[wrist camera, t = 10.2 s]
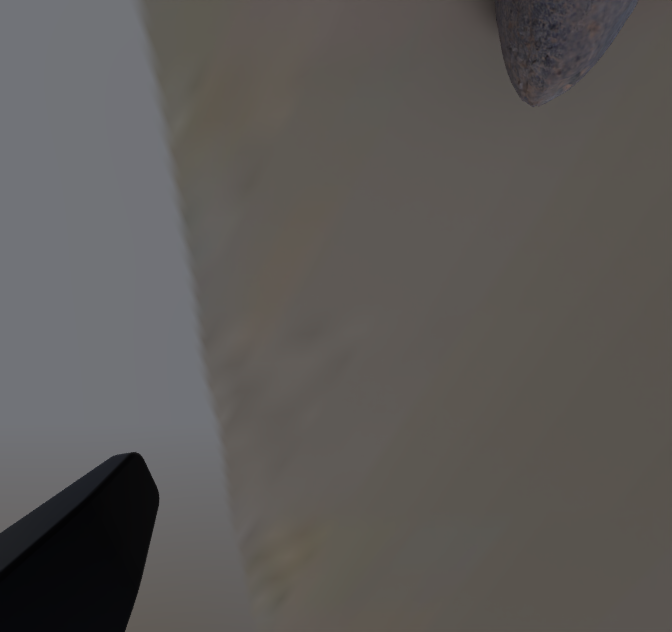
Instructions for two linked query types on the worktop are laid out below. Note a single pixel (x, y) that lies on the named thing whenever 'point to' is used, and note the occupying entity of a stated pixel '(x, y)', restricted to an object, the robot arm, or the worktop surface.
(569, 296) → the worktop surface
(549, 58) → the perforated stone tool
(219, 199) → the worktop surface
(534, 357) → the worktop surface
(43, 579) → the robot arm
